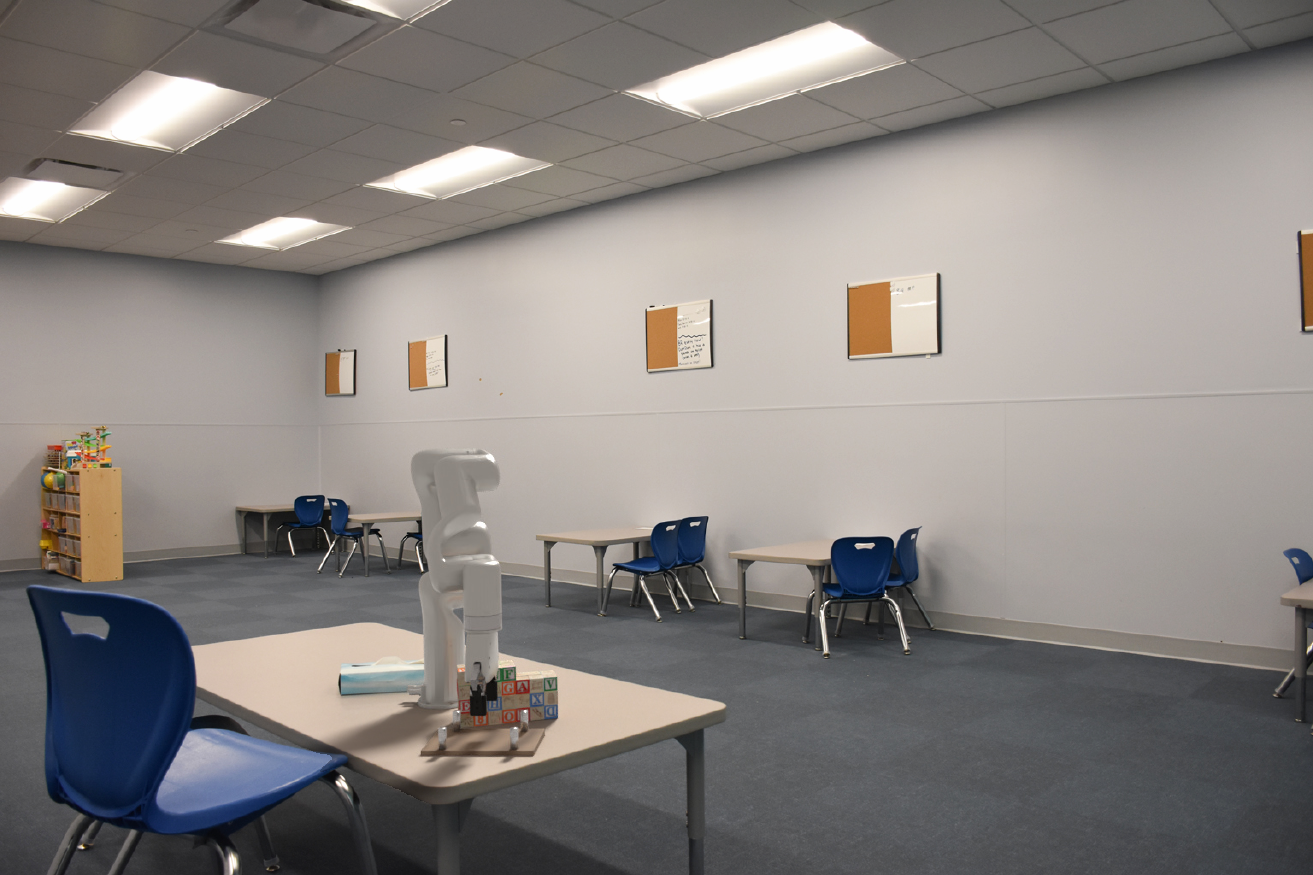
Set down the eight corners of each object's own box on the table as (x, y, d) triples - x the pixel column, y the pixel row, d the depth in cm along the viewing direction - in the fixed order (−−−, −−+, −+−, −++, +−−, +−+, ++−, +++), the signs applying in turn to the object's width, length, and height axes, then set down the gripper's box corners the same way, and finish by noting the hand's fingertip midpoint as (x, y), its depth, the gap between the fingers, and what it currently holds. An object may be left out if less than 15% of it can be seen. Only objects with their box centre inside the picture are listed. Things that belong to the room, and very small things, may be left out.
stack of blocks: (554, 710, 207) (553, 656, 207) (558, 718, 201) (557, 662, 201) (457, 719, 202) (456, 663, 201) (458, 728, 195) (457, 670, 195)
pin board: (420, 758, 177) (420, 730, 177) (439, 735, 190) (438, 709, 190) (534, 758, 176) (533, 730, 176) (544, 735, 189) (544, 709, 189)
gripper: (474, 613, 192) (475, 695, 192) (452, 632, 175) (454, 721, 175) (510, 613, 192) (511, 695, 192) (491, 631, 174) (493, 721, 175)
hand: (484, 707), depth 183 cm, fingers open, 9 cm apart
